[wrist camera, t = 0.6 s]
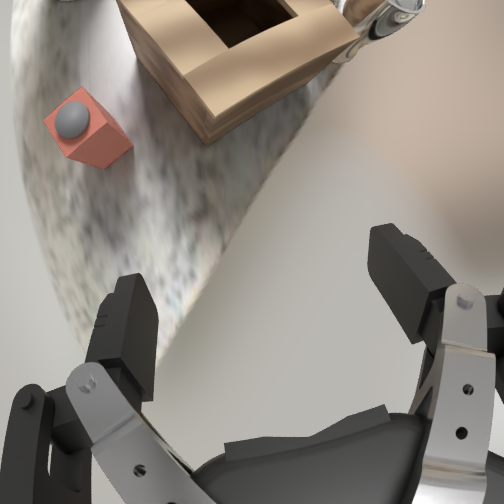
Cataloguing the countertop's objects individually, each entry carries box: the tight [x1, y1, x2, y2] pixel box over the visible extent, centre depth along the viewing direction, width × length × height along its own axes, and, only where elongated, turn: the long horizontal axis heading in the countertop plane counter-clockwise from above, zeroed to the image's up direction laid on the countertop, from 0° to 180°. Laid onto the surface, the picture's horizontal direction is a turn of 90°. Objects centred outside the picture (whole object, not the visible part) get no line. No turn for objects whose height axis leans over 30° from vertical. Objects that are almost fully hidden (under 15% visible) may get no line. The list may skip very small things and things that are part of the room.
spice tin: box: [43, 86, 133, 169], centre depth 24 cm, size 4×4×12 cm
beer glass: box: [332, 0, 426, 63], centre depth 25 cm, size 7×7×15 cm
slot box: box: [116, 0, 360, 148], centre depth 24 cm, size 14×14×13 cm
